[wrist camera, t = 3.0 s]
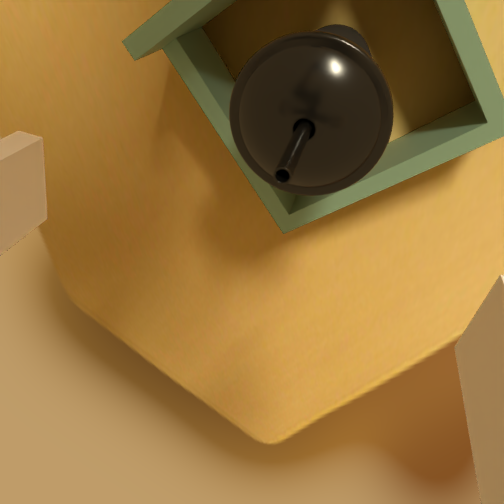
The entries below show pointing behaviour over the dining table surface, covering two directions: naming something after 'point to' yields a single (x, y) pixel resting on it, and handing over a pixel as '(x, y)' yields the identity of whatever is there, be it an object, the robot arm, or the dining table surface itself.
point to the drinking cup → (312, 111)
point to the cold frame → (396, 153)
